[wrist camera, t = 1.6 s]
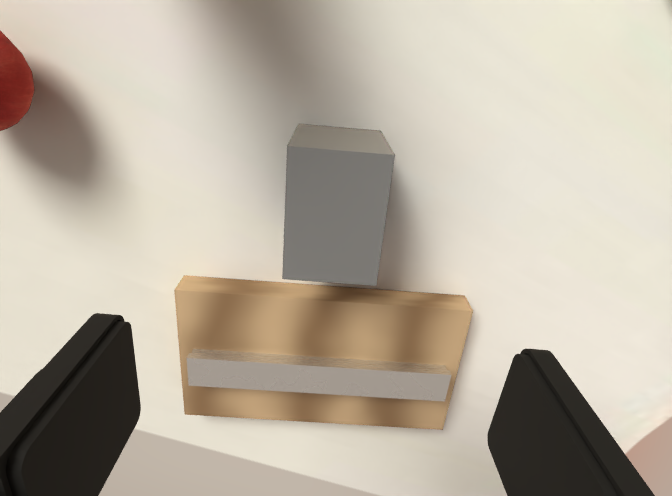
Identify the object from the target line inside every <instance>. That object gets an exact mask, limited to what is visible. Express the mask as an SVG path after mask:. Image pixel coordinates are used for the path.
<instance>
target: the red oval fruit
mask: <svg viewBox="0 0 672 496" xmlns="http://www.w3.org/2000/svg"><path fill="white" fill-rule="evenodd" d="M33 93H34V83H33V76H32V71H31V69H30V67H29V66H28V64H27V62H26V60H25V58H24V56H23V55H22V53H21V52H20V51H19V50H18V49H17V48H16V47H15V45H14V44H13V43H12V42H11V41H10V40H9V39H8V38H7V37H6V36H5V35H4V34H3V33H2V32H1V31H0V131H1V130H4V129H7V128H9V127H11V126H13V125H15V124H17V123H18V122H19V121H20V120H21V118H22V117H23V116H24V115H25V114H26V113H27V112H28V110H29V107H30V105H31V101H32V97H33Z"/></svg>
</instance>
